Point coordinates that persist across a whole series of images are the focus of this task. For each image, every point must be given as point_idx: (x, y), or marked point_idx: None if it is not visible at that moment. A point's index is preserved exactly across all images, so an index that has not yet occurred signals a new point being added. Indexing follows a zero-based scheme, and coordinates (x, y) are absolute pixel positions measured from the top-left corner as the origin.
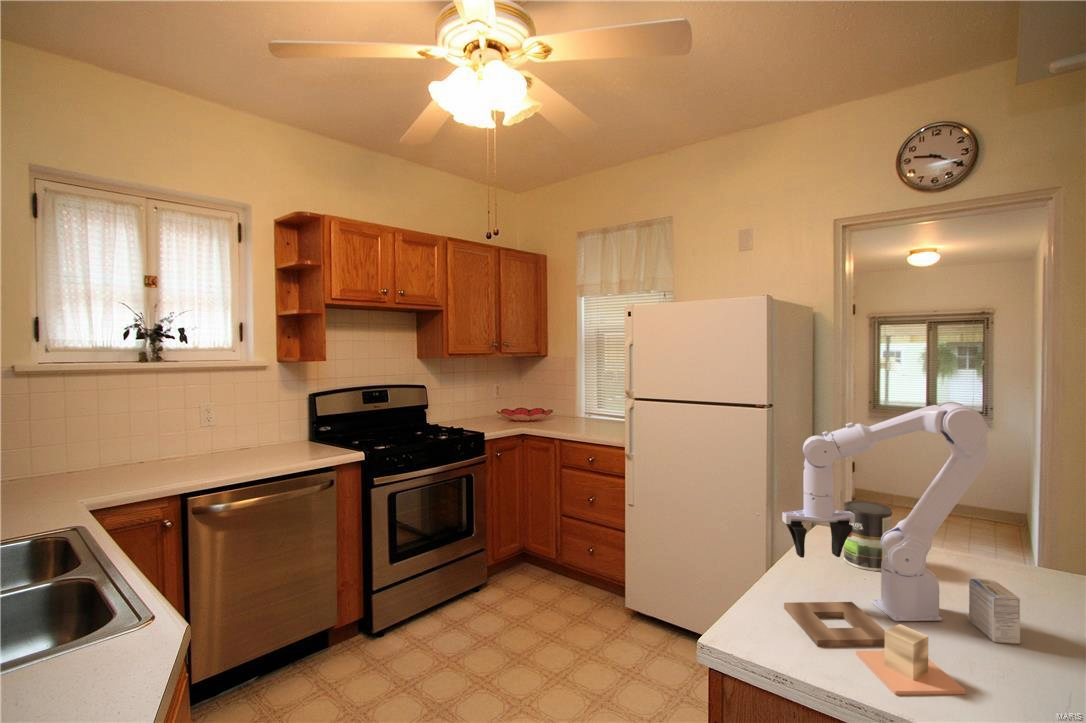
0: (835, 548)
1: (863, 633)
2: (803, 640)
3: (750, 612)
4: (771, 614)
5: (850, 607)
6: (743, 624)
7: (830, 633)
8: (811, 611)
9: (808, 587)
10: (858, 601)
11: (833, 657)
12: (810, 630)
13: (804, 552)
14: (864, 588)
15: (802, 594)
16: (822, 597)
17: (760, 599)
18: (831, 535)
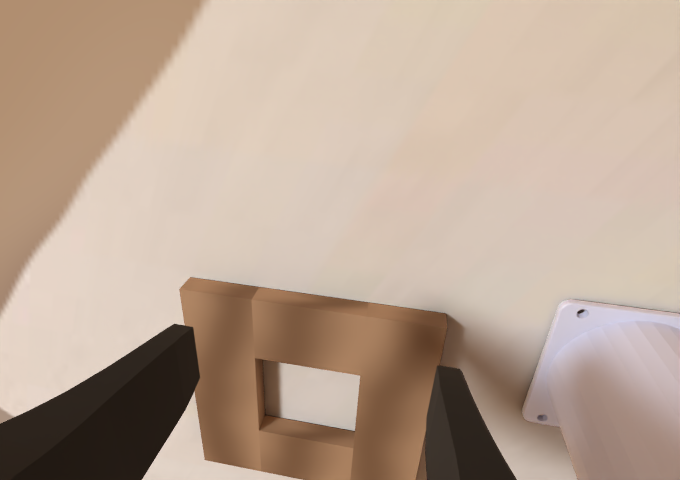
0: (432, 448)
1: (342, 468)
2: (188, 419)
3: (74, 280)
4: (138, 302)
5: (407, 360)
6: (49, 333)
7: (251, 449)
8: (252, 353)
9: (373, 123)
10: (514, 278)
11: (231, 476)
12: (204, 428)
13: (181, 415)
14: (669, 170)
15: (307, 187)
16: (380, 224)
17: (122, 203)
18: (459, 477)
